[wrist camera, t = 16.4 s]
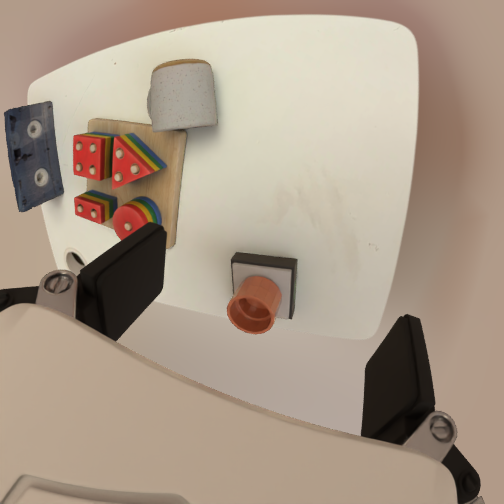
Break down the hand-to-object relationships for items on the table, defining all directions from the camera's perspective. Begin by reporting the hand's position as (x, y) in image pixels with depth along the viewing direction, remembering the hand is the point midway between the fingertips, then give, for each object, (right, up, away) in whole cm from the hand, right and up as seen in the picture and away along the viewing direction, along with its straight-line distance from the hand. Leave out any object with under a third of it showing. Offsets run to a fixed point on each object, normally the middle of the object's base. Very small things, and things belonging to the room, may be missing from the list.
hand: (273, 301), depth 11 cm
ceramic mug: (-9, +21, +23) cm, 33 cm away
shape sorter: (-19, +13, +31) cm, 38 cm away
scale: (+1, -2, +32) cm, 32 cm away
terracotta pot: (0, -4, +29) cm, 30 cm away
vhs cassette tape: (-38, +21, +33) cm, 54 cm away
